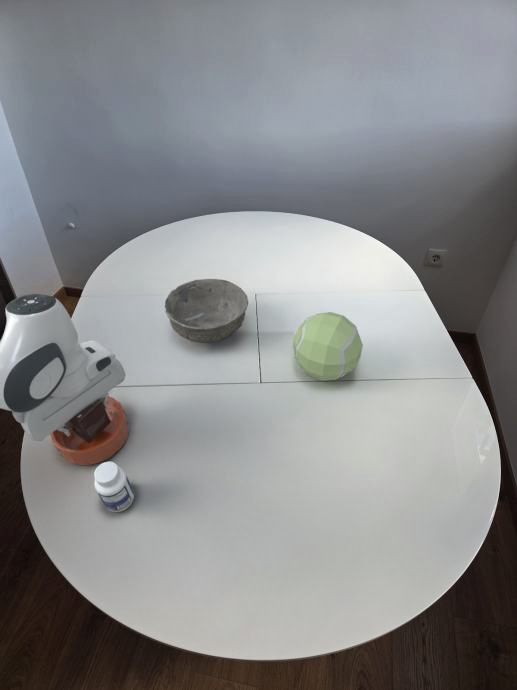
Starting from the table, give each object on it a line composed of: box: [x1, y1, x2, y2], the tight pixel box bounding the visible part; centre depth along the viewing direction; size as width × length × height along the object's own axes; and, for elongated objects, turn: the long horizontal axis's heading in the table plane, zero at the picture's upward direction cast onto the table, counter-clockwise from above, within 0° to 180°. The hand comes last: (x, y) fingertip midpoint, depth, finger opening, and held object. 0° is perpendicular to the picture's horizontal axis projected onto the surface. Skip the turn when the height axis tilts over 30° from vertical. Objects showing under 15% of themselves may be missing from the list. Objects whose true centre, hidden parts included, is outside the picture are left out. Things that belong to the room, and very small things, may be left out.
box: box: [65, 399, 110, 443], centre depth 85 cm, size 6×6×7 cm
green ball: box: [292, 311, 364, 382], centre depth 98 cm, size 15×15×15 cm
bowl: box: [164, 278, 249, 344], centre depth 110 cm, size 21×21×10 cm
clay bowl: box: [49, 395, 130, 466], centre depth 88 cm, size 14×14×5 cm
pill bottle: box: [93, 461, 135, 513], centre depth 76 cm, size 5×5×10 cm
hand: (86, 419), depth 86 cm, fingers closed on box, 6 cm apart
